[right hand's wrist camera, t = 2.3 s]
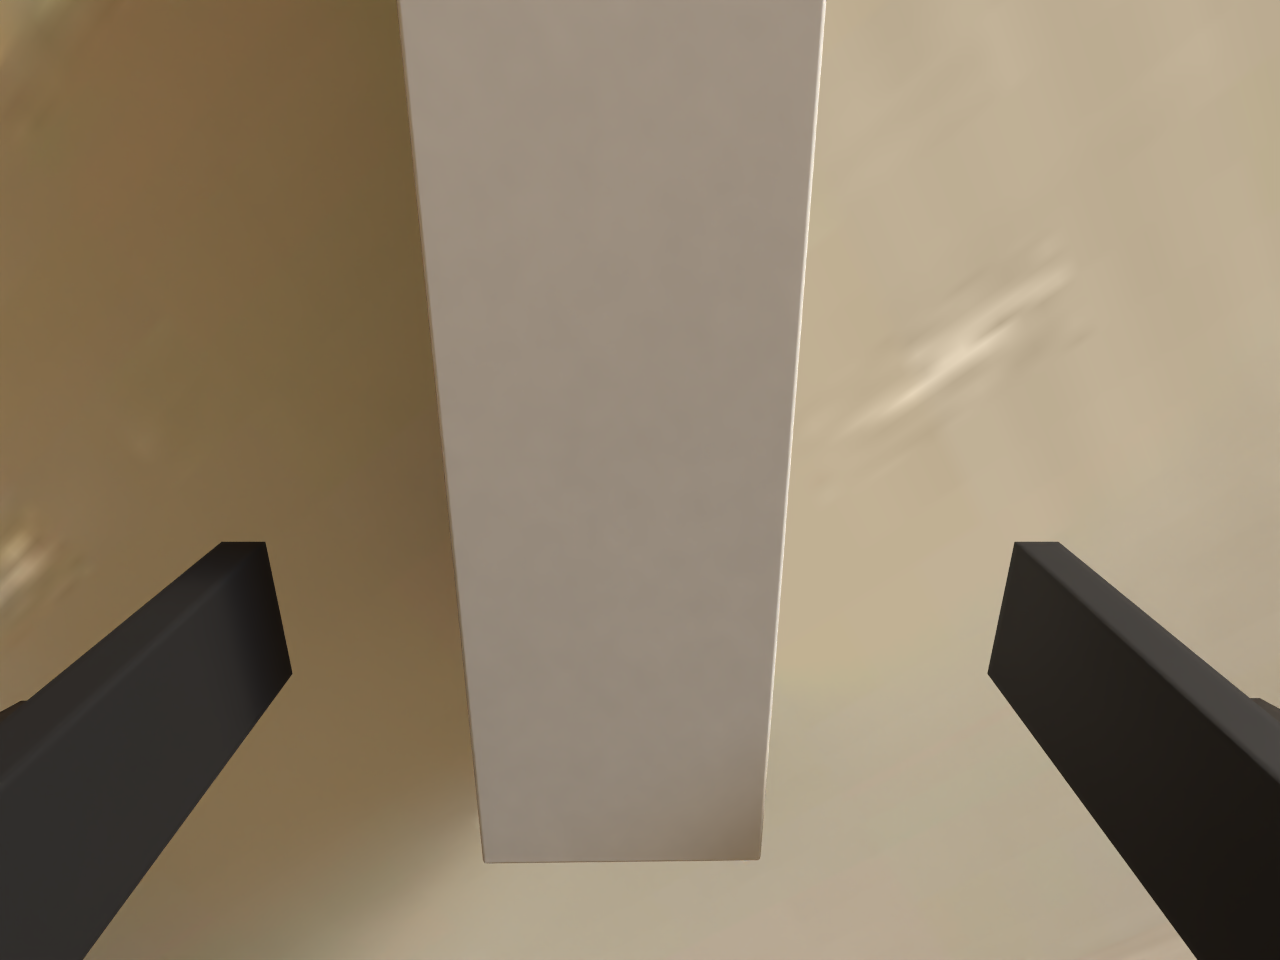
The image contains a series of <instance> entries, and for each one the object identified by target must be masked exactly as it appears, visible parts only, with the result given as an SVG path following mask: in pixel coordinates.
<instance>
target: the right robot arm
mask: <svg viewBox="0 0 1280 960" xmlns="http://www.w3.org/2000/svg"><path fill="white" fill-rule="evenodd" d="M291 675H292V669H291V664H290V659H289V654H288V649H287V645H286V640H285V635H284V630H283V625H282V620H281V615H280V611H279V606H278V601H277V596H276V591H275V586H274V582H273V577H272V572H271V567H270V562H269V557H268V553H267V548H266V543H265V542H221V543H220V544H218V545H217V546H216V547H215V548H214V549H212V550H211V551H210V552H209V553H207V554H206V555H205V556H204V557H203V558H201V559H200V560H199V561H198V562H196V563H195V564H194V565H193V566H191V567H190V568H189V569H188V570H187V571H185V572H184V573H183V574H182V575H180V576H179V577H178V578H177V579H176V580H174V581H173V582H172V583H171V584H169V585H168V586H167V587H166V588H165V589H163V590H162V591H161V592H160V593H158V594H157V595H156V596H155V597H154V598H152V599H151V600H150V601H149V602H147V603H146V604H145V605H144V606H143V607H141V608H140V609H139V610H138V611H136V612H135V613H134V614H133V615H132V616H130V617H129V618H128V619H127V620H125V621H124V622H123V623H122V624H121V625H119V626H118V627H117V628H116V629H114V630H113V631H112V632H111V633H109V634H108V635H107V636H106V637H105V638H103V639H102V640H101V641H100V642H98V643H97V644H96V645H95V646H94V647H92V648H91V649H90V650H89V651H87V652H86V653H85V654H84V655H83V656H81V657H80V658H79V659H78V660H76V661H75V662H74V663H73V664H72V665H70V666H69V667H68V668H67V669H65V670H64V671H63V672H62V673H61V674H59V675H58V676H57V677H56V678H54V679H53V680H52V681H51V682H50V683H48V684H47V685H46V686H45V687H43V688H42V689H41V690H40V691H39V692H37V693H36V694H35V695H34V696H32V697H31V698H30V699H29V700H27V701H20V702H18V703H16V704H14V705H12V706H11V707H9V708H7V709H5V710H3V711H1V712H0V960H83V958H84V957H85V956H86V954H87V953H88V952H89V950H90V949H91V948H92V946H93V945H94V943H95V942H96V941H97V939H98V938H99V937H100V935H101V934H102V933H103V931H104V930H105V928H106V927H107V926H108V924H109V923H110V922H111V920H112V919H113V918H114V916H115V915H116V913H117V912H118V911H119V909H120V908H121V907H122V905H123V904H124V903H125V901H126V900H127V898H128V897H129V896H130V894H131V893H132V892H133V890H134V889H135V888H136V886H137V885H138V883H139V882H140V881H141V879H142V878H143V877H144V875H145V874H146V873H147V871H148V870H149V868H150V867H151V866H152V864H153V863H154V862H155V860H156V859H157V858H158V856H159V855H160V853H161V852H162V851H163V849H164V848H165V847H166V845H167V844H168V843H169V841H170V840H171V839H172V837H173V836H174V834H175V833H176V832H177V830H178V829H179V828H180V826H181V825H182V824H183V822H184V821H185V819H186V818H187V817H188V815H189V814H190V813H191V811H192V810H193V809H194V807H195V806H196V804H197V803H198V802H199V800H200V799H201V798H202V796H203V795H204V794H205V792H206V791H207V789H208V788H209V787H210V785H211V784H212V783H213V781H214V780H215V779H216V777H217V776H218V774H219V773H220V772H221V770H222V769H223V768H224V766H225V765H226V764H227V762H228V761H229V759H230V758H231V757H232V755H233V754H234V753H235V751H236V750H237V749H238V747H239V746H240V744H241V743H242V742H243V740H244V739H245V738H246V736H247V735H248V734H249V732H250V731H251V729H252V728H253V727H254V725H255V724H256V723H257V721H258V720H259V719H260V717H261V716H262V714H263V713H264V712H265V710H266V709H267V708H268V706H269V705H270V704H271V702H272V701H273V700H274V698H275V697H276V695H277V694H278V693H279V691H280V690H281V689H282V687H283V686H284V685H285V683H286V682H287V680H288V679H289V678H290V676H291ZM988 675H989V676H990V678H991V679H992V680H993V682H994V683H995V685H996V686H997V687H998V689H999V690H1000V691H1001V693H1002V694H1003V695H1004V697H1005V698H1006V700H1007V701H1008V702H1009V704H1010V705H1011V706H1012V708H1013V709H1014V710H1015V712H1016V713H1017V714H1018V716H1019V717H1020V719H1021V720H1022V721H1023V723H1024V724H1025V725H1026V727H1027V728H1028V729H1029V731H1030V732H1031V734H1032V735H1033V736H1034V738H1035V739H1036V740H1037V742H1038V743H1039V744H1040V746H1041V747H1042V749H1043V750H1044V751H1045V753H1046V754H1047V755H1048V757H1049V758H1050V759H1051V761H1052V762H1053V764H1054V765H1055V766H1056V768H1057V769H1058V770H1059V772H1060V773H1061V774H1062V776H1063V777H1064V779H1065V780H1066V781H1067V783H1068V784H1069V785H1070V787H1071V788H1072V789H1073V791H1074V792H1075V794H1076V795H1077V796H1078V798H1079V799H1080V800H1081V802H1082V803H1083V804H1084V806H1085V807H1086V809H1087V810H1088V811H1089V813H1090V814H1091V815H1092V817H1093V818H1094V819H1095V821H1096V822H1097V824H1098V825H1099V826H1100V828H1101V829H1102V830H1103V832H1104V833H1105V834H1106V836H1107V837H1108V839H1109V840H1110V841H1111V843H1112V844H1113V845H1114V847H1115V848H1116V849H1117V851H1118V852H1119V853H1120V855H1121V856H1122V858H1123V859H1124V860H1125V862H1126V863H1127V864H1128V866H1129V867H1130V868H1131V870H1132V871H1133V873H1134V874H1135V875H1136V877H1137V878H1138V879H1139V881H1140V882H1141V883H1142V885H1143V886H1144V888H1145V889H1146V890H1147V892H1148V893H1149V894H1150V896H1151V897H1152V898H1153V900H1154V901H1155V903H1156V904H1157V905H1158V907H1159V908H1160V909H1161V911H1162V912H1163V913H1164V915H1165V916H1166V918H1167V919H1168V920H1169V922H1170V923H1171V924H1172V926H1173V927H1174V928H1175V930H1176V931H1177V933H1178V934H1179V935H1180V937H1181V938H1182V939H1183V941H1184V942H1185V943H1186V945H1187V946H1188V948H1189V949H1190V950H1191V952H1192V953H1193V954H1194V956H1195V957H1196V958H1197V960H1280V709H1279V708H1277V707H1275V706H1273V705H1271V704H1269V703H1268V702H1266V701H1264V700H1262V699H1260V698H1249V697H1248V696H1246V695H1245V694H1244V693H1243V692H1241V691H1240V690H1239V689H1238V688H1237V687H1235V686H1234V685H1233V684H1232V683H1230V682H1229V681H1228V680H1227V679H1226V678H1224V677H1223V676H1222V675H1221V674H1219V673H1218V672H1217V671H1216V670H1215V669H1213V668H1212V667H1211V666H1210V665H1208V664H1207V663H1206V662H1205V661H1204V660H1202V659H1201V658H1200V657H1199V656H1197V655H1196V654H1195V653H1194V652H1193V651H1191V650H1190V649H1189V648H1188V647H1186V646H1185V645H1184V644H1183V643H1182V642H1180V641H1179V640H1178V639H1177V638H1175V637H1174V636H1173V635H1172V634H1171V633H1169V632H1168V631H1167V630H1166V629H1164V628H1163V627H1162V626H1161V625H1159V624H1158V623H1157V622H1156V621H1155V620H1153V619H1152V618H1151V617H1150V616H1148V615H1147V614H1146V613H1145V612H1144V611H1142V610H1141V609H1140V608H1139V607H1137V606H1136V605H1135V604H1134V603H1133V602H1131V601H1130V600H1129V599H1128V598H1126V597H1125V596H1124V595H1123V594H1122V593H1120V592H1119V591H1118V590H1117V589H1115V588H1114V587H1113V586H1112V585H1111V584H1109V583H1108V582H1107V581H1106V580H1104V579H1103V578H1102V577H1101V576H1100V575H1098V574H1097V573H1096V572H1095V571H1093V570H1092V569H1091V568H1090V567H1089V566H1087V565H1086V564H1085V563H1084V562H1082V561H1081V560H1080V559H1079V558H1077V557H1076V556H1075V555H1074V554H1073V553H1071V552H1070V551H1069V550H1068V549H1066V548H1065V547H1064V546H1063V545H1062V544H1060V543H1059V542H1015V543H1014V548H1013V553H1012V557H1011V562H1010V567H1009V572H1008V577H1007V582H1006V586H1005V591H1004V596H1003V601H1002V606H1001V611H1000V615H999V620H998V625H997V630H996V635H995V640H994V645H993V649H992V654H991V659H990V664H989V669H988Z"/></svg>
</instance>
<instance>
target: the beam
mask: <svg viewBox="0 0 1280 960" xmlns="http://www.w3.org/2000/svg"><path fill="white" fill-rule="evenodd" d="M397 9H398V19H399V29H400V39H401V49H402V59H403V69H404V79H405V89H406V99H407V109H408V119H409V129H410V139H411V149H412V159H413V169H414V178H415V188H416V198H417V208H418V218H419V228H420V238H421V248H422V258H423V268H424V278H425V288H426V298H427V308H428V318H429V328H430V338H431V347H432V357H433V367H434V377H435V387H436V397H437V407H438V417H439V427H440V437H441V447H442V457H443V467H444V477H445V487H446V497H447V507H448V516H449V526H450V536H451V546H452V556H453V566H454V576H455V586H456V596H457V606H458V616H459V626H460V636H461V646H462V656H463V666H464V675H465V685H466V695H467V705H468V715H469V725H470V735H471V745H472V755H473V765H474V775H475V785H476V795H477V805H478V815H479V825H480V835H481V844H482V854H483V861H484V863H551V862H637V861H723V860H759V859H760V855H761V842H762V829H763V816H764V803H765V790H766V777H767V764H768V751H769V738H770V725H771V712H772V699H773V686H774V673H775V660H776V647H777V634H778V621H779V608H780V595H781V582H782V569H783V555H784V542H785V529H786V516H787V503H788V490H789V477H790V464H791V451H792V438H793V425H794V412H795V399H796V386H797V373H798V360H799V347H800V334H801V321H802V308H803V295H804V282H805V269H806V256H807V243H808V230H809V217H810V204H811V191H812V178H813V165H814V152H815V139H816V126H817V113H818V100H819V87H820V74H821V61H822V48H823V35H824V22H825V9H826V0H397Z"/></svg>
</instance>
